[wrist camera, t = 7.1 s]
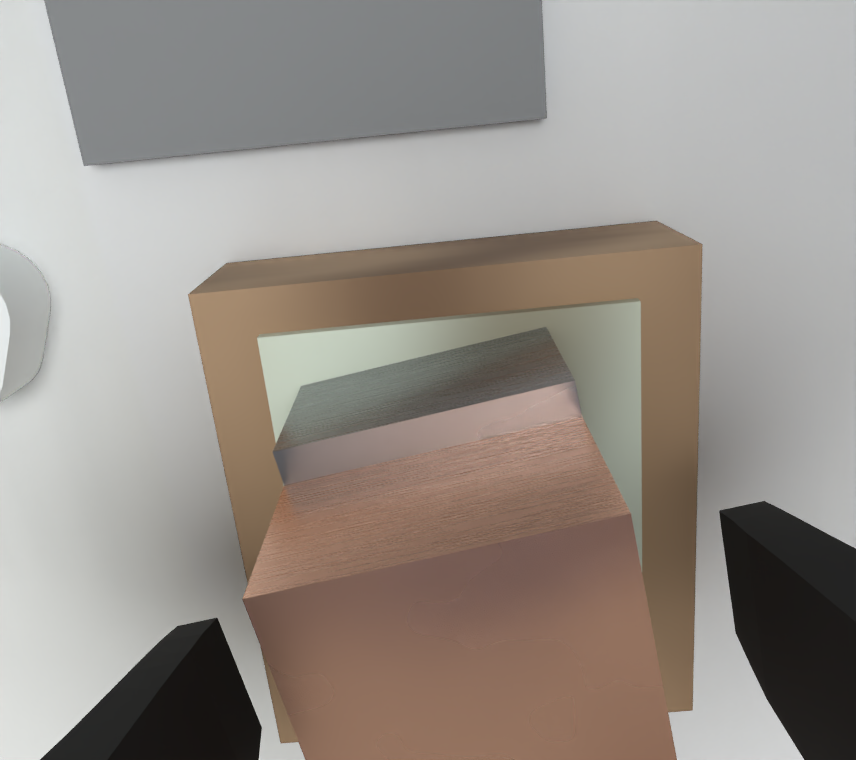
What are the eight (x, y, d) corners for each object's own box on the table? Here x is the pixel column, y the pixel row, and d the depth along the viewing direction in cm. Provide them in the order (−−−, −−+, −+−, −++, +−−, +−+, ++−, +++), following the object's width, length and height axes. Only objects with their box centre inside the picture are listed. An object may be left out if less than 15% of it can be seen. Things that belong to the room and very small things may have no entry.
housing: (545, 326, 12) (622, 468, 7) (610, 635, 14) (703, 902, 9) (300, 385, 12) (225, 557, 8) (397, 680, 14) (384, 959, 10)
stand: (656, 220, 14) (706, 246, 12) (656, 627, 17) (696, 718, 15) (226, 263, 15) (184, 297, 12) (299, 657, 18) (278, 751, 15)
